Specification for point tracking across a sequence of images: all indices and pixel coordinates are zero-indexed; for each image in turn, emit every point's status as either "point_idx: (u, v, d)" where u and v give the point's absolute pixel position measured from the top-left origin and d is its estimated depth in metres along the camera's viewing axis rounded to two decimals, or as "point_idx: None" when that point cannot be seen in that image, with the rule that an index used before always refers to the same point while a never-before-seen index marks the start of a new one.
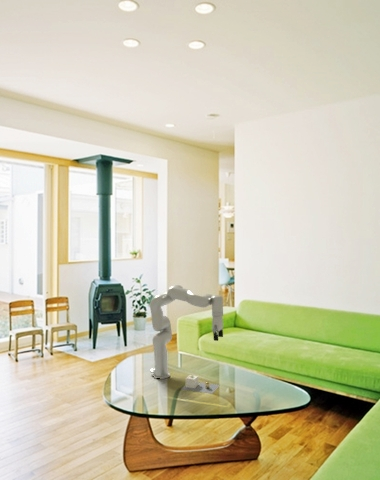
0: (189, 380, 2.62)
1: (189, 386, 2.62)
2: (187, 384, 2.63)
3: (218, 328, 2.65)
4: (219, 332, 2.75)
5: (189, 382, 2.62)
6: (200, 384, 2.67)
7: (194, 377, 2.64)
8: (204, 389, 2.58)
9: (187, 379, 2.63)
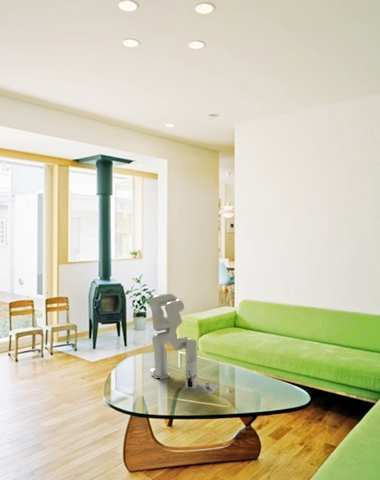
0: None
1: None
2: (187, 384, 2.63)
3: (191, 374, 2.60)
4: None
5: None
6: (200, 384, 2.67)
7: (194, 377, 2.64)
8: (204, 389, 2.58)
9: None
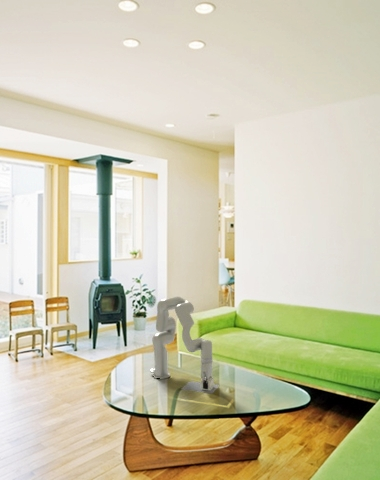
0: None
1: None
2: (202, 386, 2.58)
3: (207, 375, 2.55)
4: None
5: None
6: (200, 384, 2.67)
7: (209, 379, 2.60)
8: None
9: (202, 381, 2.58)
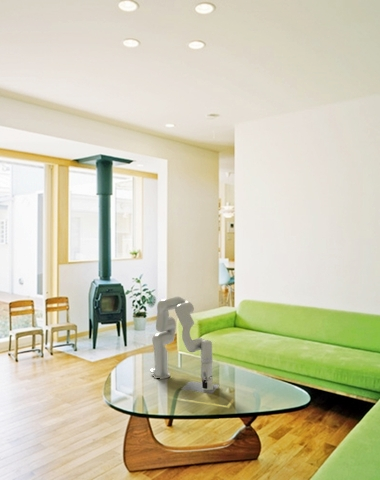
0: (207, 382, 2.57)
1: (207, 388, 2.57)
2: None
3: (207, 375, 2.55)
4: None
5: (207, 384, 2.57)
6: (200, 384, 2.67)
7: (210, 378, 2.61)
8: None
9: None
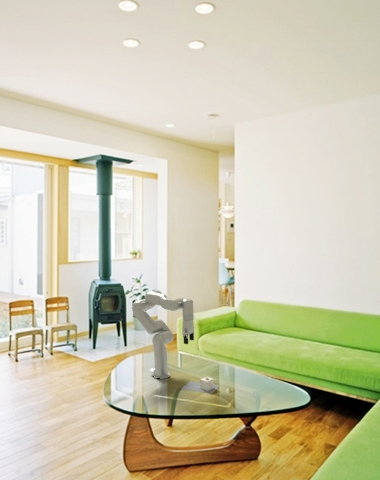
0: (209, 382, 2.58)
1: (210, 388, 2.58)
2: (208, 387, 2.57)
3: (188, 332, 2.69)
4: (190, 335, 2.78)
5: (210, 384, 2.58)
6: None
7: (209, 378, 2.62)
8: None
9: (208, 382, 2.57)
